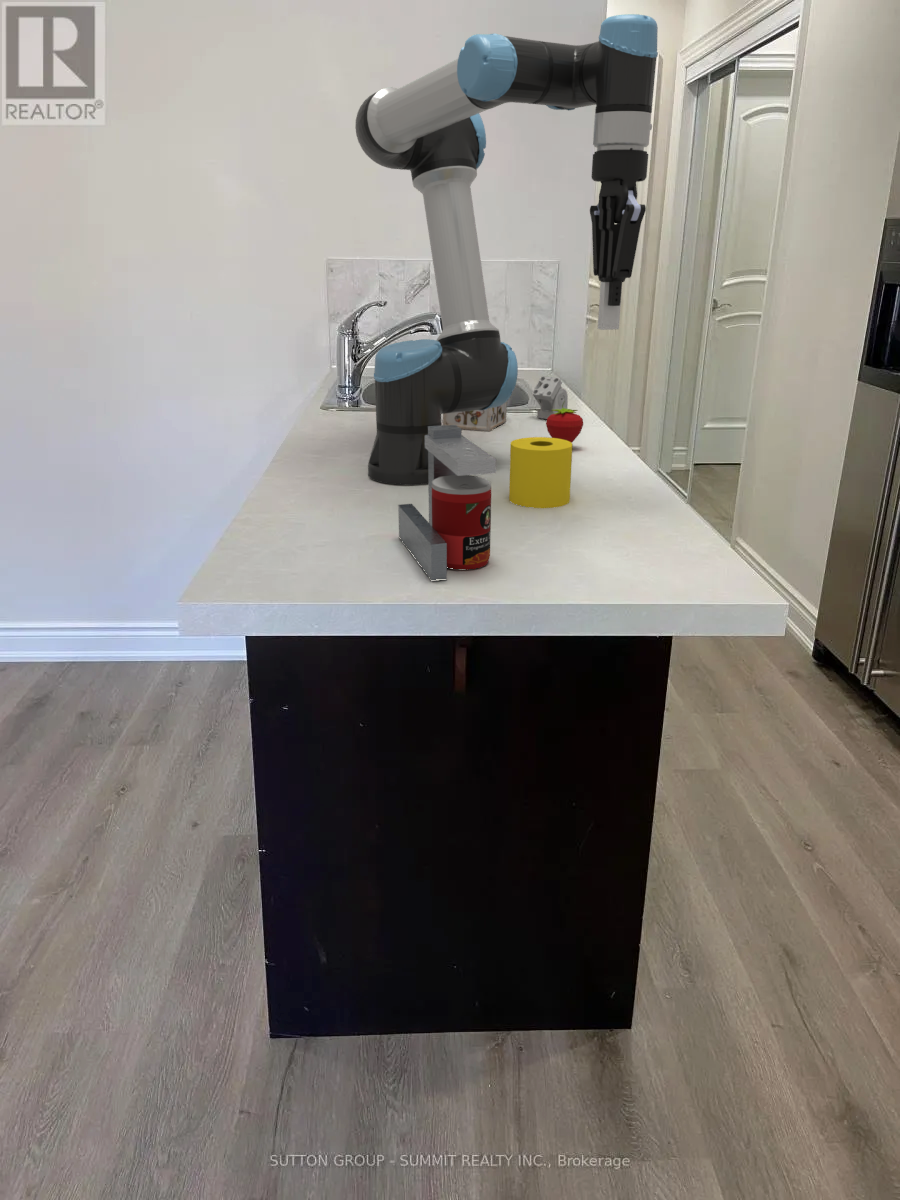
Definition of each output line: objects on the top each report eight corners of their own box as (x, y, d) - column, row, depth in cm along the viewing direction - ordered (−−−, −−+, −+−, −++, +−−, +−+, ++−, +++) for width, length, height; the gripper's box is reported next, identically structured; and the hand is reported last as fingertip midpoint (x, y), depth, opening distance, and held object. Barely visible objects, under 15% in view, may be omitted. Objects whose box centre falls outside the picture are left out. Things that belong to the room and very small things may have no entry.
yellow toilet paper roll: (563, 510, 145) (566, 452, 141) (502, 505, 147) (504, 448, 144) (574, 494, 153) (577, 439, 150) (516, 489, 156) (518, 435, 153)
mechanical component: (567, 418, 216) (569, 375, 212) (548, 423, 211) (550, 379, 207) (549, 415, 219) (551, 373, 215) (530, 420, 214) (531, 377, 210)
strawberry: (582, 453, 182) (585, 403, 178) (544, 452, 182) (546, 402, 179) (581, 447, 187) (584, 398, 183) (544, 446, 188) (546, 397, 184)
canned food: (472, 575, 117) (473, 492, 113) (420, 564, 121) (419, 484, 117) (500, 558, 123) (502, 479, 119) (450, 548, 127) (450, 471, 123)
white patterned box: (441, 428, 205) (441, 346, 199) (460, 419, 215) (461, 340, 208) (490, 432, 201) (492, 348, 194) (508, 422, 211) (510, 343, 204)
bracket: (462, 529, 135) (462, 422, 129) (506, 574, 117) (509, 452, 111) (396, 534, 133) (394, 425, 127) (431, 581, 115) (430, 457, 109)
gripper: (669, 147, 119) (652, 333, 128) (624, 153, 130) (612, 323, 139) (616, 145, 117) (603, 334, 126) (576, 152, 128) (566, 325, 137)
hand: (608, 328), depth 133 cm, fingers closed
